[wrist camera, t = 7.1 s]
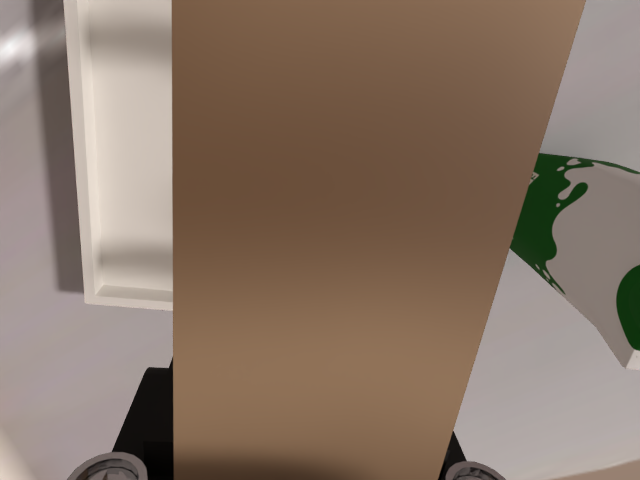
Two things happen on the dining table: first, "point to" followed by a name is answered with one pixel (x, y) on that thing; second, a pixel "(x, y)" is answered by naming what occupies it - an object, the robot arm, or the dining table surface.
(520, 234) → the milk carton
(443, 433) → the walnut rail
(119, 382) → the dining table surface
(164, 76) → the off-white tray
